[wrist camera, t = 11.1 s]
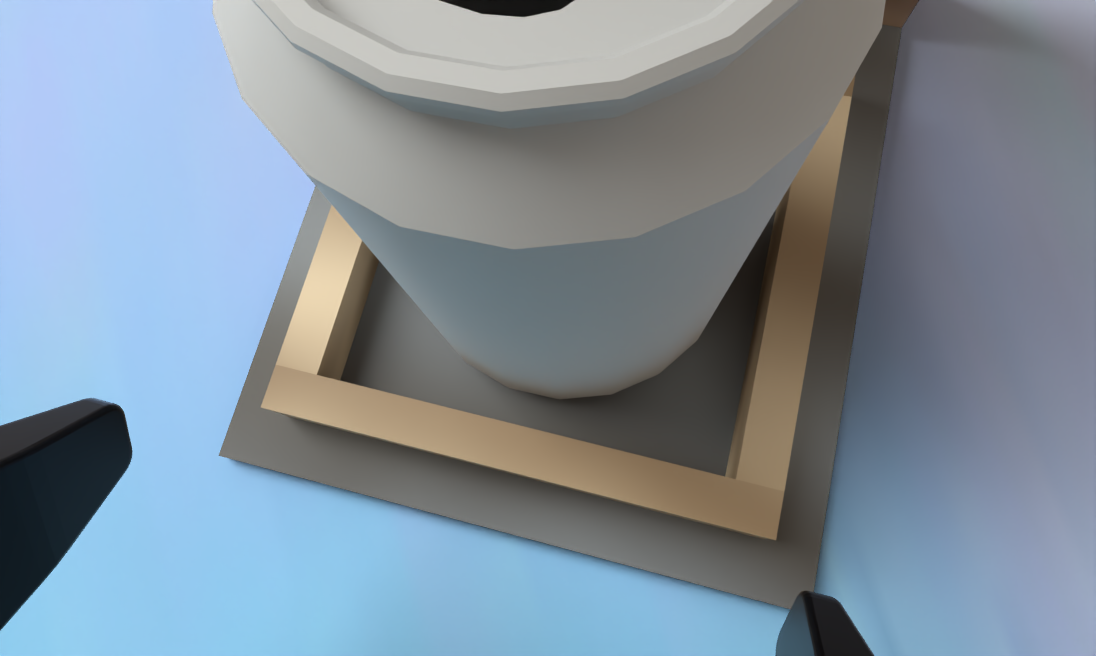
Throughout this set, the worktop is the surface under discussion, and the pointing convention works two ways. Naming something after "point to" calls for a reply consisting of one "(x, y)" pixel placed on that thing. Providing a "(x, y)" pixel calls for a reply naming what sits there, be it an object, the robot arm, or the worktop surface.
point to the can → (552, 156)
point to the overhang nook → (598, 421)
